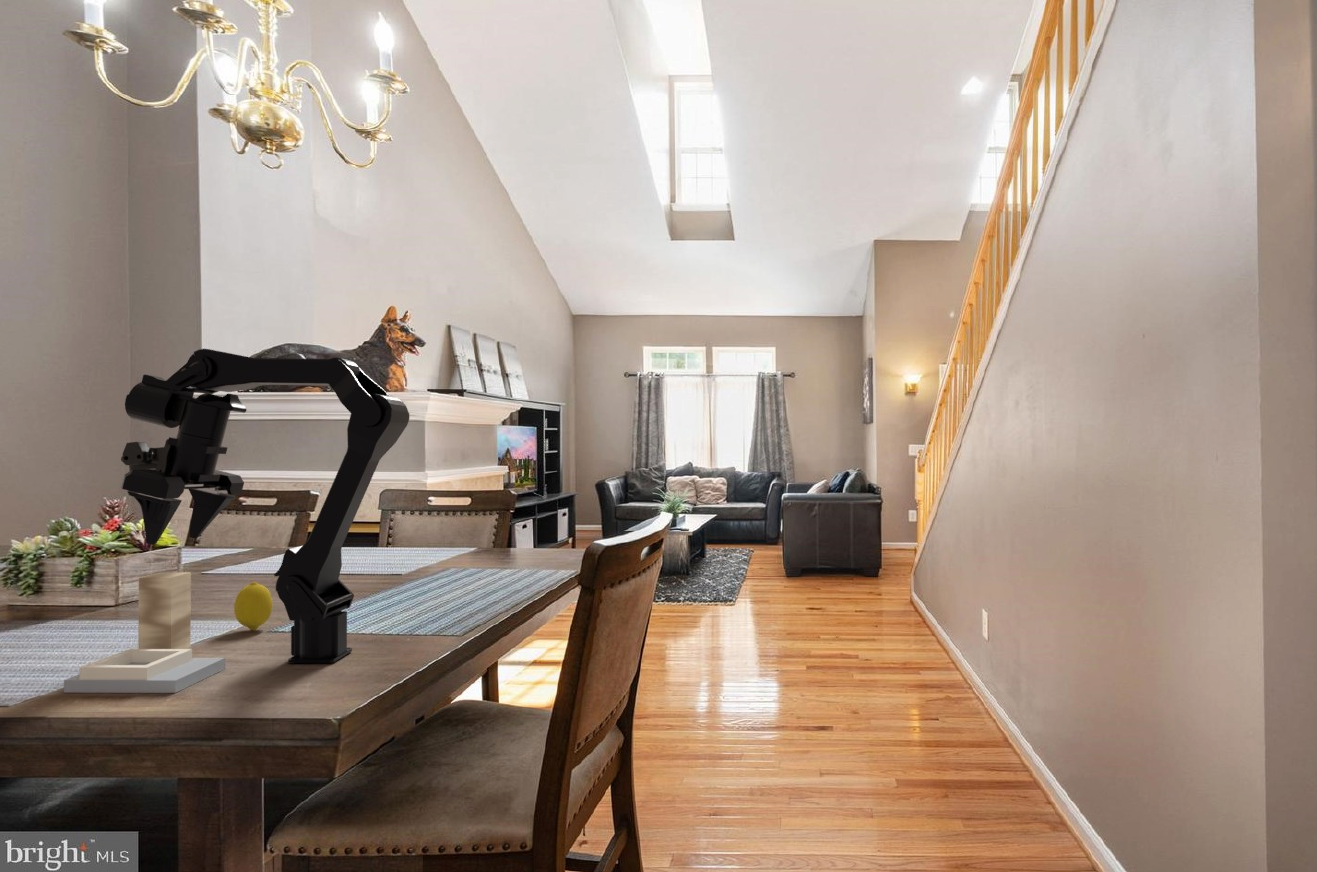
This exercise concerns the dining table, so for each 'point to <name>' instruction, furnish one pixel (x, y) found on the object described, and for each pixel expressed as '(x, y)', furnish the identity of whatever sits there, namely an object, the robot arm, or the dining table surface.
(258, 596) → the lemon
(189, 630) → the beech pillar
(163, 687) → the foundation plate
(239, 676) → the dining table surface
